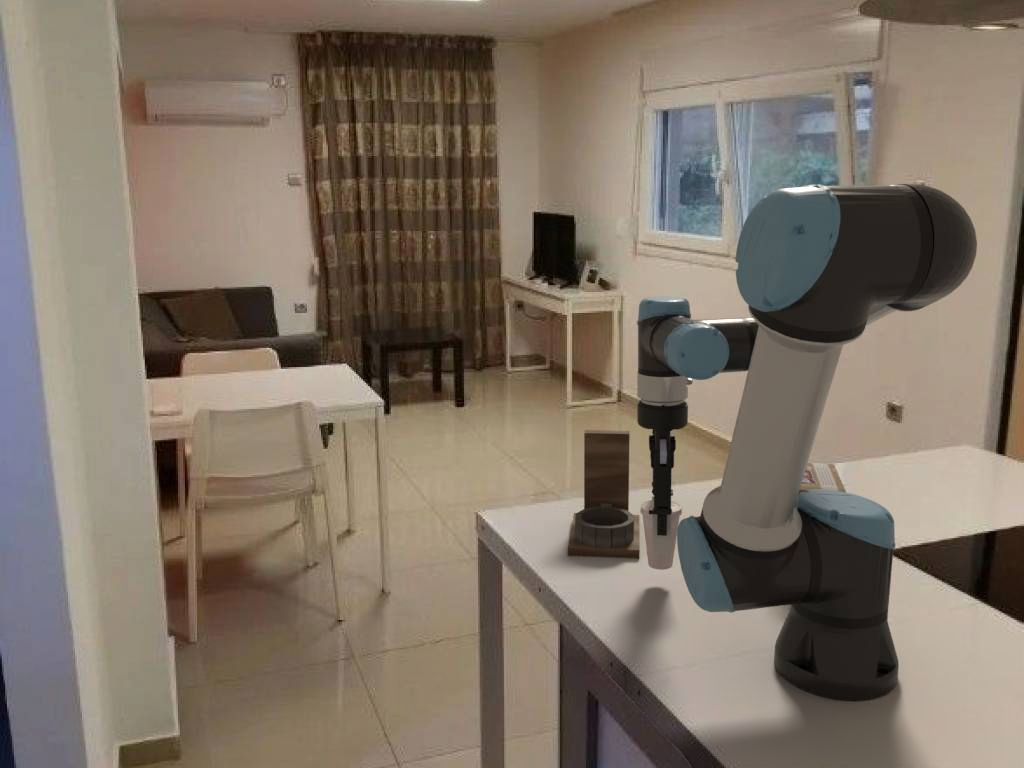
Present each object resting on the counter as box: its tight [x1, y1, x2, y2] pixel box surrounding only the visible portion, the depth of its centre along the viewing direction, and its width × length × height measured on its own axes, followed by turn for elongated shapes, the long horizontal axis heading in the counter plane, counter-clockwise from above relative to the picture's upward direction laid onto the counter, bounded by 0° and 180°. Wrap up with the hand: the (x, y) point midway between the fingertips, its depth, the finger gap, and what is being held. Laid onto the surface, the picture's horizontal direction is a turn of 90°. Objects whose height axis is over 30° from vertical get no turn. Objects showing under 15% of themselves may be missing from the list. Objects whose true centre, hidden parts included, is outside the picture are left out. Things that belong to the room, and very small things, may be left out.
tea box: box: [795, 462, 847, 508], centre depth 152 cm, size 15×10×15 cm, turn 168°
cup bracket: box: [567, 429, 641, 559], centre depth 161 cm, size 16×12×18 cm
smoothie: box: [639, 499, 683, 571], centre depth 143 cm, size 6×6×14 cm
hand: (660, 544), depth 144 cm, fingers closed on smoothie, 6 cm apart
